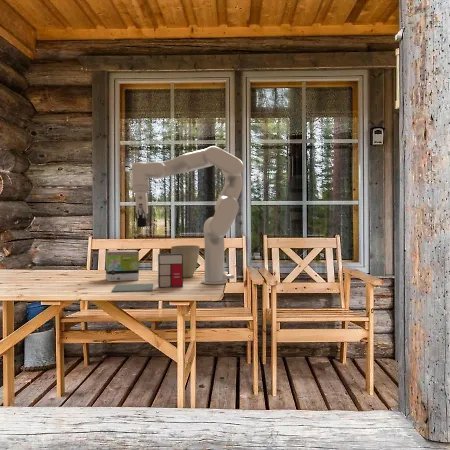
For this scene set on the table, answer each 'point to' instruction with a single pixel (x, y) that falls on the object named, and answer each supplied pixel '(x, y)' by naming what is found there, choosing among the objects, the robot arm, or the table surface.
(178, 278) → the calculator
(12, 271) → the table surface
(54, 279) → the table surface
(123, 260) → the tea box
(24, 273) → the table surface
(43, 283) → the table surface
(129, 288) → the mat
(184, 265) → the plant pot
